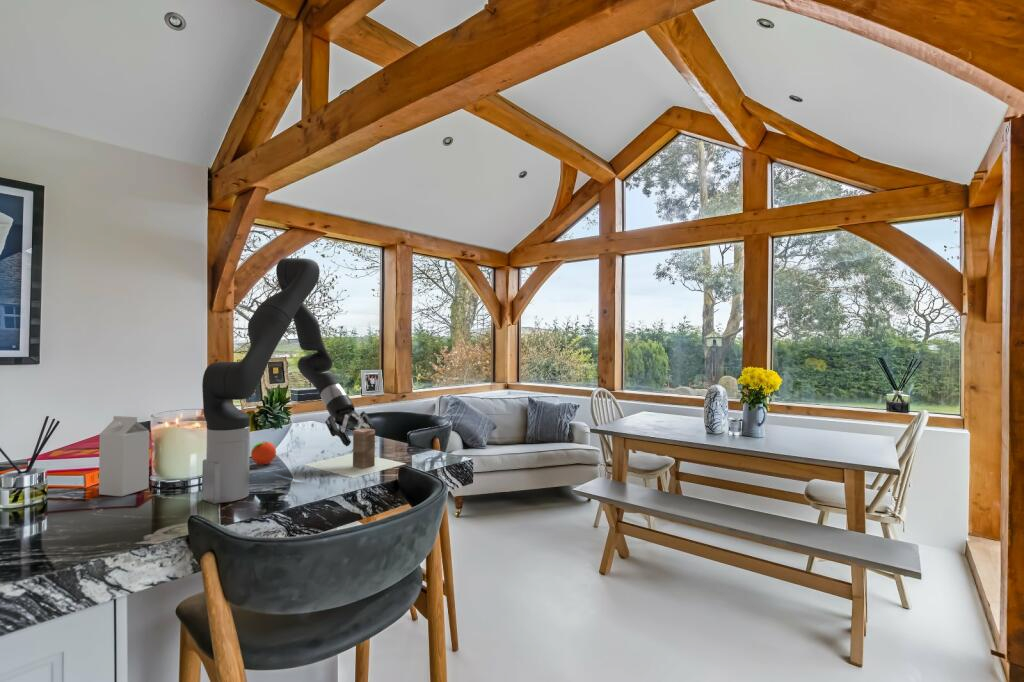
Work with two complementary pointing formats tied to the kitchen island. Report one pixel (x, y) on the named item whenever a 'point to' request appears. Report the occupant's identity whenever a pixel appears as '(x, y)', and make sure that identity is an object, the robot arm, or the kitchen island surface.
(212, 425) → the robot arm
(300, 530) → the kitchen island surface
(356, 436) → the walnut block
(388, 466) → the cream flat board
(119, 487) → the milk carton
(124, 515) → the kitchen island surface
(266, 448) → the clementine
